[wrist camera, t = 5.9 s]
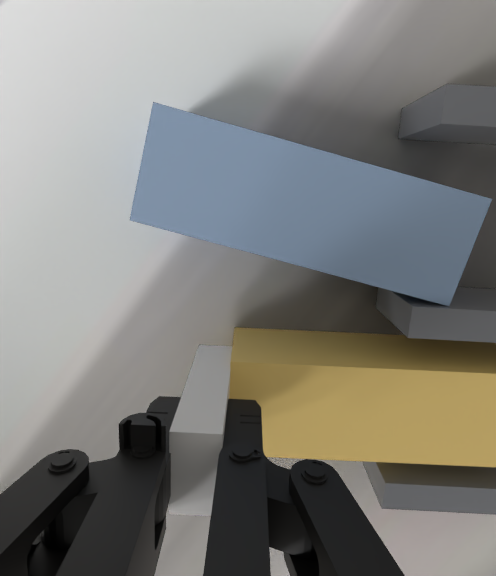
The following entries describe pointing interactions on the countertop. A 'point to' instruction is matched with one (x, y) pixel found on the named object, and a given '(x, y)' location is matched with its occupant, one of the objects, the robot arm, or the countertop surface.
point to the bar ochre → (369, 396)
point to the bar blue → (305, 205)
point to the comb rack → (442, 316)
